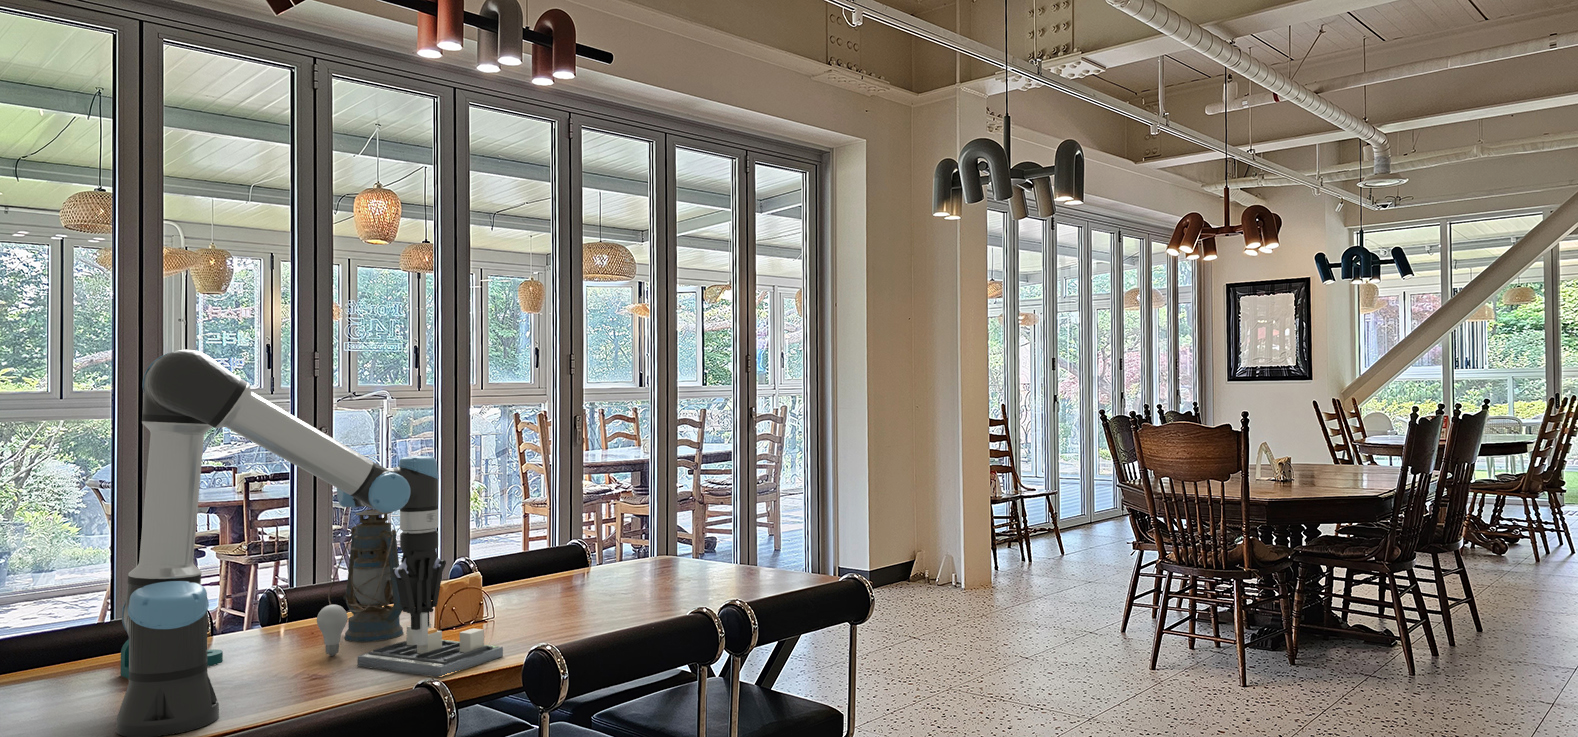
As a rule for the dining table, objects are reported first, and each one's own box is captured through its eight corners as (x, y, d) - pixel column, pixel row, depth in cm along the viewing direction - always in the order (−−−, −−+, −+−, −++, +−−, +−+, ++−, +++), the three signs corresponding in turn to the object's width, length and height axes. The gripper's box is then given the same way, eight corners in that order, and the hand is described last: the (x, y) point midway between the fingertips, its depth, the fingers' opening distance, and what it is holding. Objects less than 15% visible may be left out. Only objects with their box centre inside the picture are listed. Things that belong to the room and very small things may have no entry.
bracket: (132, 681, 207) (132, 642, 207) (120, 676, 211) (120, 637, 211) (228, 663, 221) (228, 625, 221) (214, 658, 225) (214, 621, 225)
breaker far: (417, 646, 224) (416, 627, 224) (406, 645, 225) (406, 626, 225) (430, 642, 227) (430, 623, 227) (420, 640, 228) (420, 622, 229)
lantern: (424, 634, 244) (423, 506, 245) (372, 647, 232) (372, 512, 233) (370, 626, 254) (369, 503, 255) (317, 638, 242) (317, 509, 243)
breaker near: (470, 652, 217) (470, 633, 217) (459, 651, 218) (459, 632, 218) (484, 648, 221) (483, 629, 221) (473, 647, 222) (473, 628, 222)
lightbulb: (336, 660, 221) (335, 608, 221) (310, 659, 222) (310, 607, 223) (353, 653, 227) (353, 602, 227) (328, 651, 228) (328, 601, 229)
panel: (440, 677, 206) (440, 663, 206) (357, 665, 216) (357, 652, 216) (502, 656, 222) (502, 643, 222) (422, 646, 232) (422, 633, 232)
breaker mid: (427, 654, 216) (427, 632, 216) (417, 653, 218) (417, 630, 218) (442, 649, 220) (441, 628, 220) (431, 648, 221) (431, 626, 221)
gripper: (408, 535, 209) (409, 653, 209) (455, 527, 221) (456, 638, 220) (381, 533, 213) (382, 649, 212) (429, 526, 224) (430, 635, 224)
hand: (420, 644), depth 216 cm, fingers closed
